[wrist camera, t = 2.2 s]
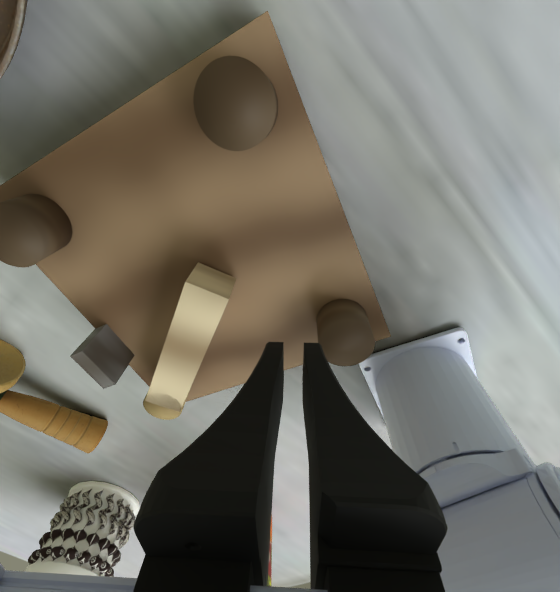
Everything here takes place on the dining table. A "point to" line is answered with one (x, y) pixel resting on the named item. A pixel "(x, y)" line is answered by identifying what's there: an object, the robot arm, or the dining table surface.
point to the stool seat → (198, 221)
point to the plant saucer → (10, 29)
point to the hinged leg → (188, 340)
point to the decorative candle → (87, 531)
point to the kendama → (44, 408)
